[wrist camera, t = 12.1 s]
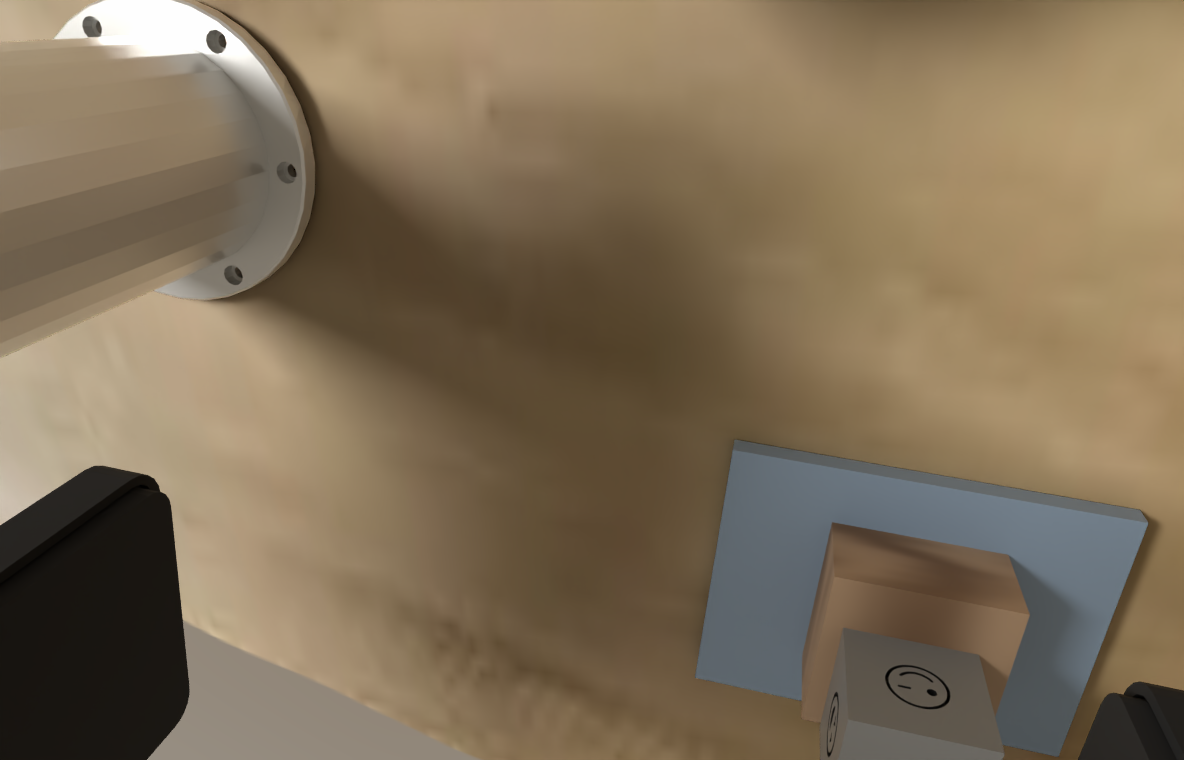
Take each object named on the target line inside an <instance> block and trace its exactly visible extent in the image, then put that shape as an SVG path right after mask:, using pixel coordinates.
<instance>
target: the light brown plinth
mask: <svg viewBox="0 0 1184 760" xmlns="http://www.w3.org/2000/svg"><path fill="white" fill-rule="evenodd" d="M1029 616H1030V614H1029V611H1028V608H1027V605H1026V602H1025V600H1024V597H1023V594H1022V591H1021V588H1020V586H1019V583H1018V580H1017V577H1016V575H1015V572H1014V569H1013V566H1012V563H1011V561H1010V558H1009V555H1007V554H1001V553H996V552H991V551H985V550H980V549H974V548H969V547H964V546H958V545H953V544H948V543H942V542H937V541H931V540H926V539H921V538H915V537H910V536H904V535H899V534H894V533H888V532H883V531H877V530H872V529H867V528H861V527H856V526H850V525H845V524H840V523H834V522H832V524H831V529H830V533H829V538H828V542H827V547H826V551H825V556H824V560H823V565H822V569H821V574H820V578H819V583H818V587H817V592H816V596H815V600H814V605H813V609H812V614H811V618H810V623H809V627H808V632H807V636H806V641H805V645H804V650H803V654H802V713H801V719H803V720H808V721H812V722H817V723H821V719H822V715H823V711H824V706H825V702H826V698H827V694H828V690H829V685H830V681H831V677H832V673H833V669H834V664H835V660H836V656H837V652H838V648H839V643H840V639H841V635H842V631H843V628H848V629H853V630H858V631H863V632H868V633H873V634H878V635H883V636H888V637H893V638H898V639H903V640H908V641H913V642H918V643H923V644H928V645H933V646H938V647H943V648H948V649H953V650H957V651H962V652H967V653H972V654H977V655H979V657H980V661H981V665H982V668H983V672H984V676H985V680H986V684H987V688H988V691H989V695H990V699H991V703H992V707H993V711H994V714H995V716H996V713H997V710H998V707H999V704H1000V701H1001V698H1002V695H1003V692H1004V690H1005V687H1006V684H1007V681H1008V678H1009V675H1010V672H1011V669H1012V666H1013V663H1014V660H1015V657H1016V654H1017V651H1018V648H1019V645H1020V643H1021V640H1022V637H1023V634H1024V631H1025V628H1026V625H1027V622H1028V619H1029Z"/></svg>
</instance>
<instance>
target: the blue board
mask: <svg viewBox="0 0 1184 760" xmlns="http://www.w3.org/2000/svg"><path fill="white" fill-rule="evenodd" d="M832 522H834V523H840V524H845V525H850V526H856V527H861V528H867V529H872V530H877V531H883V532H888V533H894V534H899V535H904V536H910V537H915V538H921V539H926V540H931V541H937V542H942V543H948V544H953V545H958V546H964V547H969V548H974V549H980V550H985V551H991V552H996V553H1001V554H1007V555H1009V558H1010V561H1011V563H1012V566H1013V569H1014V572H1015V575H1016V577H1017V580H1018V583H1019V586H1020V588H1021V591H1022V594H1023V597H1024V600H1025V602H1026V605H1027V608H1028V611H1029V614H1030V616H1029V619H1028V622H1027V625H1026V628H1025V631H1024V634H1023V637H1022V640H1021V643H1020V645H1019V648H1018V651H1017V654H1016V657H1015V660H1014V663H1013V666H1012V669H1011V672H1010V675H1009V678H1008V681H1007V684H1006V687H1005V690H1004V692H1003V695H1002V698H1001V701H1000V704H999V707H998V710H997V713H996V716H995V718H996V722H997V726H998V730H999V734H1000V737H1001V741H1002V745H1005V746H1010V747H1015V748H1019V749H1024V750H1028V751H1033V752H1037V753H1042V754H1047V755H1051V756H1056V757H1059V754H1060V751H1061V749H1062V746H1063V744H1064V741H1065V738H1066V736H1067V733H1068V731H1069V728H1070V725H1071V723H1072V720H1073V718H1074V715H1075V712H1076V710H1077V707H1078V705H1079V702H1080V699H1081V697H1082V694H1083V692H1084V689H1085V686H1086V684H1087V681H1088V679H1089V676H1090V674H1091V671H1092V668H1093V666H1094V663H1095V661H1096V658H1097V655H1098V653H1099V650H1100V648H1101V645H1102V642H1103V640H1104V637H1105V635H1106V632H1107V629H1108V627H1109V624H1110V622H1111V619H1112V616H1113V614H1114V611H1115V609H1116V606H1117V603H1118V601H1119V598H1120V596H1121V593H1122V591H1123V588H1124V585H1125V583H1126V580H1127V578H1128V575H1129V572H1130V570H1131V567H1132V565H1133V562H1134V559H1135V557H1136V554H1137V552H1138V549H1139V546H1140V544H1141V541H1142V539H1143V536H1144V533H1145V531H1146V528H1147V526H1148V522H1147V520H1146V518H1145V517H1144V515H1143V514H1142V512H1141V511H1140V510H1137V509H1131V508H1125V507H1120V506H1114V505H1108V504H1102V503H1097V502H1091V501H1085V500H1079V499H1074V498H1068V497H1062V496H1056V495H1051V494H1045V493H1039V492H1033V491H1028V490H1022V489H1016V488H1010V487H1005V486H999V485H993V484H987V483H982V482H976V481H970V480H964V479H959V478H953V477H947V476H941V475H936V474H930V473H924V472H918V471H913V470H907V469H901V468H895V467H890V466H884V465H878V464H872V463H867V462H861V461H855V460H849V459H844V458H838V457H832V456H826V455H821V454H815V453H809V452H803V451H798V450H792V449H786V448H780V447H775V446H769V445H763V444H757V443H752V442H746V441H740V440H734V446H733V452H732V458H731V464H730V470H729V476H728V482H727V488H726V494H725V500H724V506H723V512H722V518H721V524H720V530H719V536H718V542H717V548H716V554H715V560H714V566H713V572H712V578H711V584H710V590H709V596H708V602H707V608H706V614H705V620H704V626H703V632H702V638H701V644H700V650H699V656H698V662H697V668H696V674H695V678H699V679H703V680H708V681H712V682H717V683H722V684H726V685H731V686H735V687H740V688H744V689H749V690H754V691H758V692H763V693H767V694H772V695H776V696H781V697H786V698H790V699H795V700H799V701H802V654H803V650H804V645H805V641H806V636H807V632H808V627H809V623H810V618H811V614H812V609H813V605H814V600H815V596H816V592H817V587H818V583H819V578H820V574H821V569H822V565H823V560H824V556H825V551H826V547H827V542H828V538H829V533H830V529H831V524H832Z"/></svg>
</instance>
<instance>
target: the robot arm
mask: <svg viewBox="0 0 1184 760" xmlns="http://www.w3.org/2000/svg"><path fill="white" fill-rule="evenodd" d="M225 39H226V42H227V44H226V43H225ZM293 166H294V168H295V170H296V173H297V174H296V173H295V172H294V170H293ZM314 195H315V160H314V154H313V148H312V142H311V136H310V132H309V129H308V126H307V123H306V120H305V117H304V114H303V111H302V108H301V105H300V103H299V101H298V99H297V97H296V96H295V94H294V92H293V90H292V88H291V86H290V84H289V82H288V80H287V78H286V76H285V75H284V74H283V72H282V71H281V70H280V68H279V67H278V66H277V64H276V63H275V61H274V60H273V59H272V57H271V56H270V55H269V53H268V52H267V51H266V50H265V49H264V48H263V47H262V46H261V45H260V44H259V43H258V42H257V41H256V40H255V39H254V38H253V37H252V36H251V35H250V34H249V33H248V32H247V31H246V30H245V29H244V28H243V27H241V26H240V25H238V24H237V23H235V22H234V21H232V20H231V19H230V18H228V17H227V16H225V15H224V14H222V13H221V12H219V11H218V10H216V9H213V8H211V7H209V6H207V5H204V4H202V3H200V2H197V1H195V0H99V1H96V2H94V3H91V4H89V5H87V6H86V7H85V8H83V9H82V10H81V11H79V12H78V13H77V14H75V15H74V16H73V17H71V18H70V19H69V20H68V21H67V22H66V23H65V24H64V26H63V27H62V28H61V29H60V31H59V32H58V33H57V34H56V35H55V37H54V38H53V39H48V40H28V41H8V42H0V358H2V357H4V356H7V355H9V354H11V353H13V352H16V351H18V350H20V349H22V348H25V347H27V346H29V345H31V344H34V343H36V342H38V341H41V340H43V339H45V338H47V337H50V336H52V335H54V334H56V333H59V332H61V331H63V330H66V329H68V328H70V327H72V326H75V325H77V324H79V323H81V322H84V321H86V320H88V319H90V318H93V317H95V316H97V315H100V314H102V313H104V312H106V311H109V310H111V309H113V308H115V307H118V306H120V305H122V304H125V303H127V302H129V301H131V300H134V299H136V298H138V297H140V296H143V295H145V294H147V293H149V292H152V291H155V292H157V293H161V294H164V295H168V296H172V297H176V298H180V299H191V300H211V299H218V298H225V297H229V296H232V295H234V294H237V293H240V292H242V291H245V290H247V289H250V288H251V287H253V286H255V285H257V284H258V283H260V282H262V281H264V280H266V279H267V278H269V277H270V276H271V275H272V274H274V273H275V272H276V271H277V270H278V269H279V268H280V267H281V266H283V265H284V264H285V263H286V262H287V260H288V259H289V258H290V256H291V255H292V253H293V252H294V250H295V249H296V248H297V246H298V245H299V243H300V241H301V239H302V236H303V234H304V232H305V229H306V227H307V224H308V222H309V220H310V215H311V210H312V205H313V200H314ZM188 698H189V678H188V669H187V659H186V649H185V639H184V629H183V619H182V610H181V600H180V590H179V580H178V570H177V561H176V551H175V541H174V531H173V521H172V511H171V505H170V500H169V499H168V497H167V496H166V494H164V493H162V492H160V489H159V485H158V484H157V482H156V481H155V479H154V478H152V477H150V476H148V475H144V474H140V473H135V472H130V471H125V470H120V469H116V468H111V467H106V466H93V467H91V468H89V469H86V470H84V471H83V472H81V473H80V474H78V475H77V476H75V477H74V478H72V479H71V480H69V481H68V482H66V483H65V484H63V485H61V486H60V487H58V488H57V489H55V490H54V491H52V492H51V493H49V494H48V495H46V496H45V497H43V498H42V499H40V500H38V501H37V502H35V503H34V504H32V505H31V506H29V507H28V508H26V509H25V510H23V511H22V512H20V513H19V514H17V515H15V516H14V517H12V518H11V519H9V520H8V521H6V522H5V523H3V524H2V525H0V760H147V759H148V758H149V756H150V755H151V754H152V753H153V752H154V751H155V749H156V748H157V747H158V746H159V745H160V744H161V743H162V741H163V740H164V739H165V738H166V737H167V736H168V734H169V733H170V732H171V731H172V730H173V729H174V728H175V726H176V725H177V723H178V722H179V721H180V719H181V717H182V715H183V713H184V711H185V709H186V706H187V703H188ZM1078 760H1184V691H1183V690H1178V689H1173V688H1168V687H1164V686H1159V685H1154V684H1149V683H1144V682H1135V683H1133V684H1132V685H1130V686H1129V687H1128V688H1127V689H1126V691H1125V693H1124V695H1122V694H1117V693H1110V694H1108V695H1107V696H1106V697H1105V698H1104V700H1103V702H1102V703H1101V705H1100V708H1099V710H1098V713H1097V715H1096V717H1095V720H1094V722H1093V725H1092V727H1091V729H1090V732H1089V734H1088V737H1087V739H1086V742H1085V744H1084V746H1083V749H1082V751H1081V754H1080V756H1079V758H1078Z"/></svg>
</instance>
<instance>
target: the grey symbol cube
mask: <svg viewBox="0 0 1184 760" xmlns="http://www.w3.org/2000/svg"><path fill="white" fill-rule="evenodd" d="M1004 754H1005V753H1004V749H1003V745H1002V741H1001V737H1000V734H999V730H998V726H997V722H996V718H995V714H994V711H993V707H992V703H991V699H990V695H989V691H988V688H987V684H986V680H985V676H984V672H983V668H982V665H981V661H980V657H979V655H977V654H972V653H967V652H962V651H957V650H953V649H948V648H943V647H938V646H933V645H928V644H923V643H918V642H913V641H908V640H903V639H898V638H893V637H888V636H883V635H878V634H873V633H868V632H863V631H858V630H853V629H848V628H843V631H842V635H841V639H840V643H839V648H838V652H837V656H836V660H835V664H834V669H833V673H832V677H831V681H830V685H829V690H828V694H827V698H826V702H825V706H824V711H823V715H822V719H821V723H820V760H1003V757H1004Z"/></svg>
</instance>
